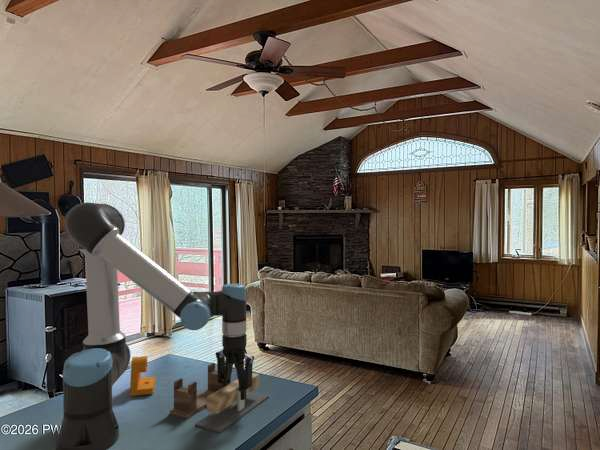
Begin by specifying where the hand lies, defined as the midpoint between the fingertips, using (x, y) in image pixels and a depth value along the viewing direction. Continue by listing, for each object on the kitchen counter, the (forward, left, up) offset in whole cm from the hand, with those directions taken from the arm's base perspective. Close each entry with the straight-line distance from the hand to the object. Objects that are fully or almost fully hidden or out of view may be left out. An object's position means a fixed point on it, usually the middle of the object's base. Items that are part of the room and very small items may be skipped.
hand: (234, 407), depth 128 cm
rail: (0, 0, +3) cm, 3 cm away
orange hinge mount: (-3, +37, -1) cm, 38 cm away
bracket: (0, +13, -1) cm, 13 cm away
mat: (0, 0, -1) cm, 1 cm away
